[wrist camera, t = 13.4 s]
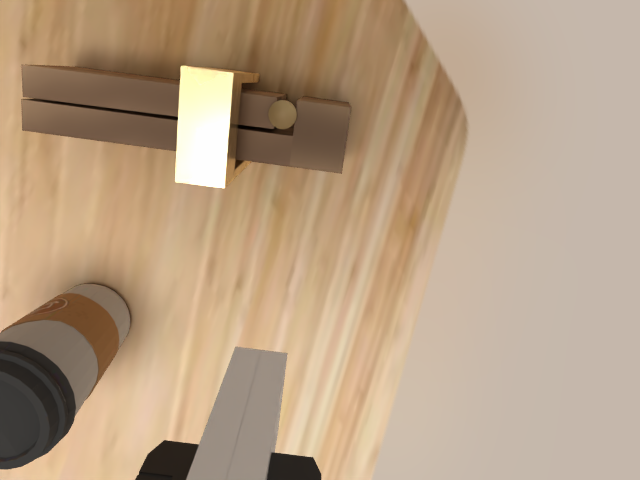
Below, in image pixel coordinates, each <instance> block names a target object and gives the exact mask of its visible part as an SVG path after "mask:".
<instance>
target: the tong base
mask: <svg viewBox="0 0 640 480" xmlns="http://www.w3.org/2000/svg"><path fill="white" fill-rule="evenodd" d="M21 104H22V130H23V131H31V132H38V133H46V134H53V135H60V136H68V137H75V138H82V139H90V140H97V141H105V142H112V143H119V144H127V145H134V146H142V147H149V148H156V149H164V150H171V151H176V150H177V130H178V117H176V116H169V115H161V114H153V113H145V112H137V111H130V110H122V109H114V108H106V107H99V106H91V105H83V104H75V103H67V102H60V101H52V100H44V99H36V98H33V99H21ZM350 113H351V106H350V104H349V103H348V102H341V101H334V100H326V99H319V98H312V97H304V96H303V97H302V98H300V99H298V100H297V106H296V109H295V107H294V105H293V104H292V103H290V102H289V101H286V100H279V101H276V102H275V103H273V104H272V105H271V107H270V109H269V112H268V116H269V120H270V122H271V124H272V125H273V126H275V127H276V128H274V129H270V128H262V127H254V126H246V125H239V124H238V133H237V145H236V157H235V159H238V160H245V161H252V162H260V163H267V164H275V165H282V166H289V167H297V168H304V169H311V170H319V171H326V172H334V173H341V174H342V168H343V161H344V155H345V148H346V141H347V134H348V127H349V120H350ZM293 124H294V126H292V125H293Z"/></svg>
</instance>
